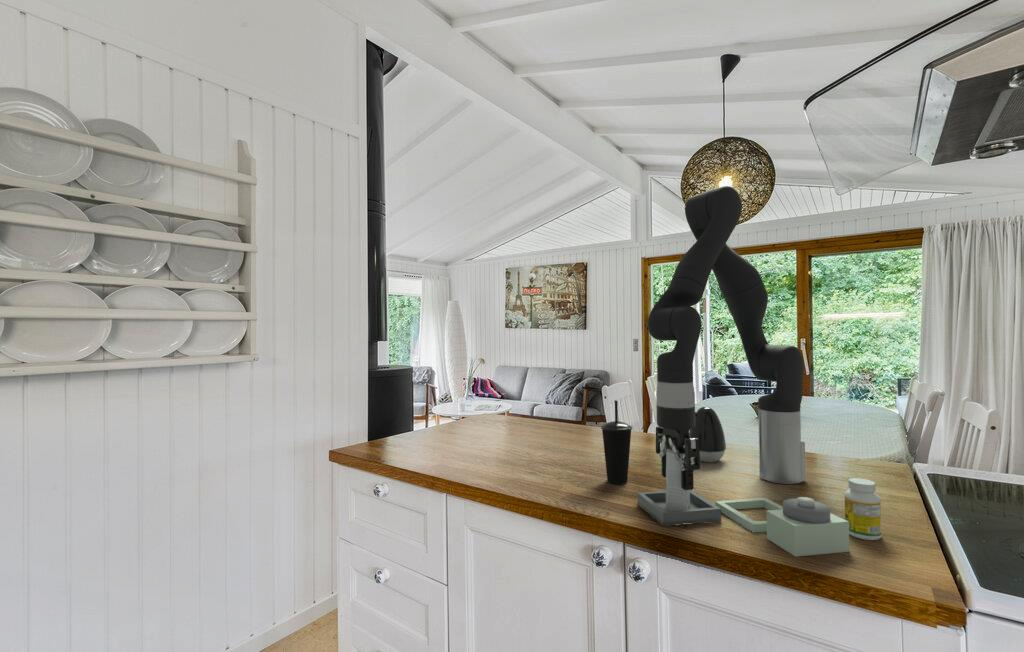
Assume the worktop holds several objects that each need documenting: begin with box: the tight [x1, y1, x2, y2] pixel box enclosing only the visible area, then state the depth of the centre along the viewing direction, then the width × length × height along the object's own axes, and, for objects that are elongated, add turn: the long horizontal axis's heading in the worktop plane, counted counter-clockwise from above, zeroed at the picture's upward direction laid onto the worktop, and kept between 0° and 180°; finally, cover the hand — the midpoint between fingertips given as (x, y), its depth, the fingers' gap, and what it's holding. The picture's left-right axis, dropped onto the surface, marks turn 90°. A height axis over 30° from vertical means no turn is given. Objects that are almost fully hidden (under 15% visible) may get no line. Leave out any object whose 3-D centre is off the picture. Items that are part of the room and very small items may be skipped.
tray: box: [637, 489, 722, 527], centre depth 100 cm, size 12×12×2 cm
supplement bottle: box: [843, 477, 882, 541], centre depth 88 cm, size 5×5×10 cm
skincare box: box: [665, 449, 690, 511], centre depth 100 cm, size 6×4×12 cm
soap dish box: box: [714, 496, 850, 558], centre depth 92 cm, size 11×22×8 cm, turn 9°
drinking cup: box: [600, 400, 633, 485], centre depth 121 cm, size 8×8×20 cm
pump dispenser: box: [689, 406, 727, 463], centre depth 140 cm, size 10×10×15 cm
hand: (676, 482), depth 100 cm, fingers open, 8 cm apart
